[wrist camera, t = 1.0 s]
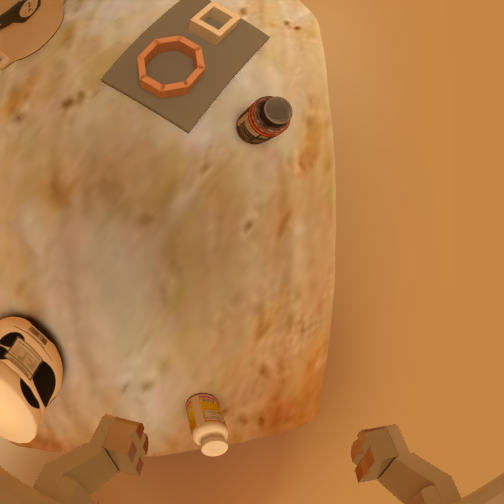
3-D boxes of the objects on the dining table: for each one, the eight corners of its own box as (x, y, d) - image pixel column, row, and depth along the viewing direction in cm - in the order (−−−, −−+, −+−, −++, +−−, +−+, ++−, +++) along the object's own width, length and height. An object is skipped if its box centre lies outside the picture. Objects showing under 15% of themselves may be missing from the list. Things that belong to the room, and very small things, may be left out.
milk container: (6, 377, 37) (-24, 430, 20) (-11, 303, 34) (-60, 345, 17) (73, 393, 42) (55, 458, 26) (61, 317, 40) (23, 374, 23)
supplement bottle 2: (262, 107, 43) (290, 85, 33) (275, 138, 45) (306, 124, 34) (230, 117, 42) (250, 95, 31) (243, 149, 44) (268, 137, 33)
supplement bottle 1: (194, 419, 51) (206, 463, 39) (179, 399, 49) (188, 446, 37) (222, 407, 53) (239, 450, 41) (209, 387, 51) (224, 432, 39)
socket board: (188, 133, 41) (191, 126, 36) (102, 81, 34) (96, 71, 30) (268, 39, 41) (277, 28, 36) (191, -6, 34) (194, -19, 30)
